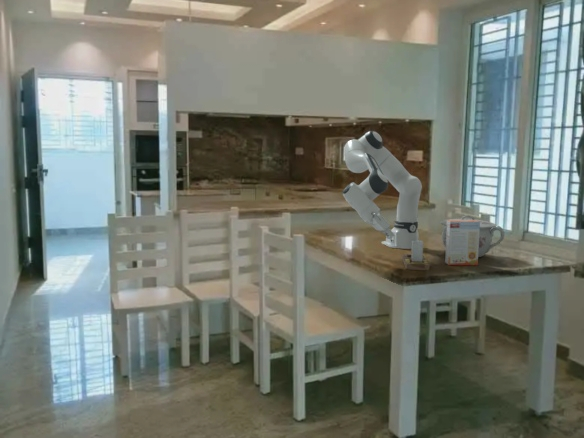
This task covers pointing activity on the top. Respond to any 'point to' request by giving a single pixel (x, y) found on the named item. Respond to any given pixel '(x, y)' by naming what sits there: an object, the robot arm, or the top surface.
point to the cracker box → (462, 242)
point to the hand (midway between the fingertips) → (390, 236)
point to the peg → (417, 251)
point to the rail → (414, 263)
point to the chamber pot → (484, 234)
